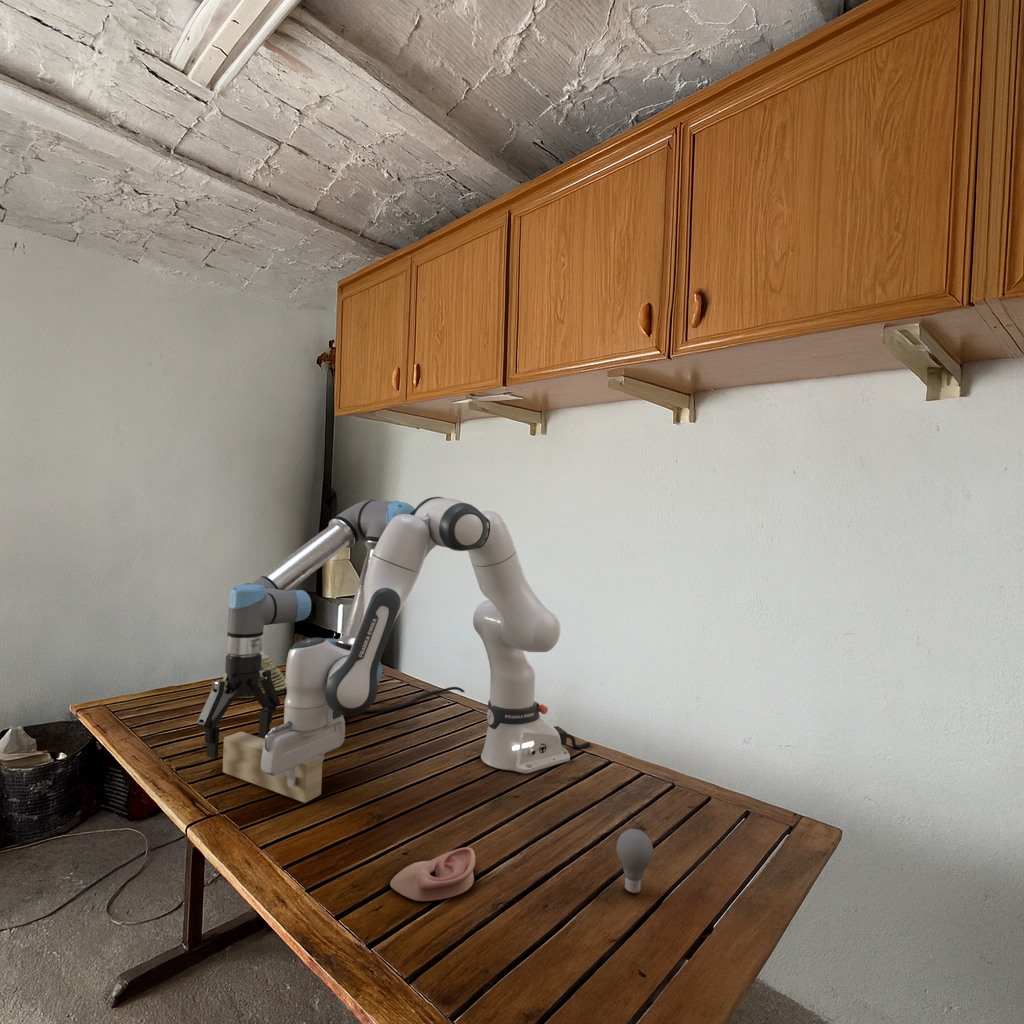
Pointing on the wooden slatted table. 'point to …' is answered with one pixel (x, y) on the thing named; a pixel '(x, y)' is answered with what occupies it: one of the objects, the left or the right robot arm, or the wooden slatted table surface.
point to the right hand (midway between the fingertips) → (303, 780)
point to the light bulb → (634, 857)
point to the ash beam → (246, 765)
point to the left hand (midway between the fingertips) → (238, 747)
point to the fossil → (275, 676)
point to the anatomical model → (437, 876)
